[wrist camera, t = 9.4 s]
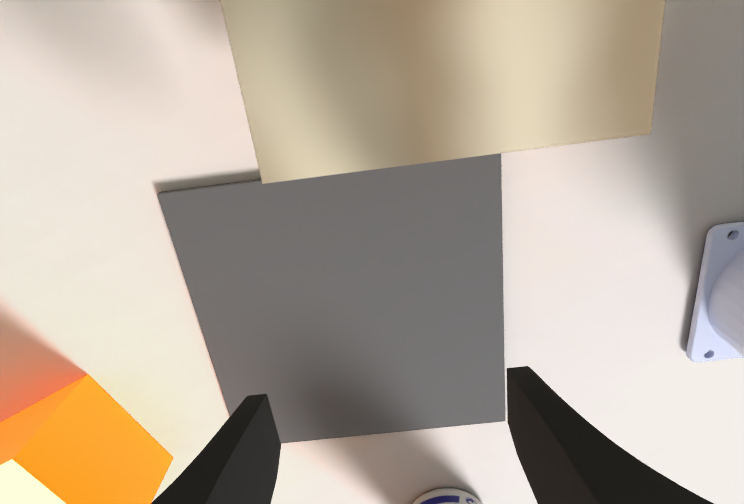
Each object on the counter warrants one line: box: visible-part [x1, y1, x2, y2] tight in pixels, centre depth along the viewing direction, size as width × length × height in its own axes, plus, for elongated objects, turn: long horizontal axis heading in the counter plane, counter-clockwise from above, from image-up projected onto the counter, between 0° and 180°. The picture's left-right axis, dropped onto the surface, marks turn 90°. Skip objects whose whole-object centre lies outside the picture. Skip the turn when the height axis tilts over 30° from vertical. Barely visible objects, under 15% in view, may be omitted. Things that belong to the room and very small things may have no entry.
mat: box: [157, 153, 505, 443], centre depth 24 cm, size 16×16×1 cm
